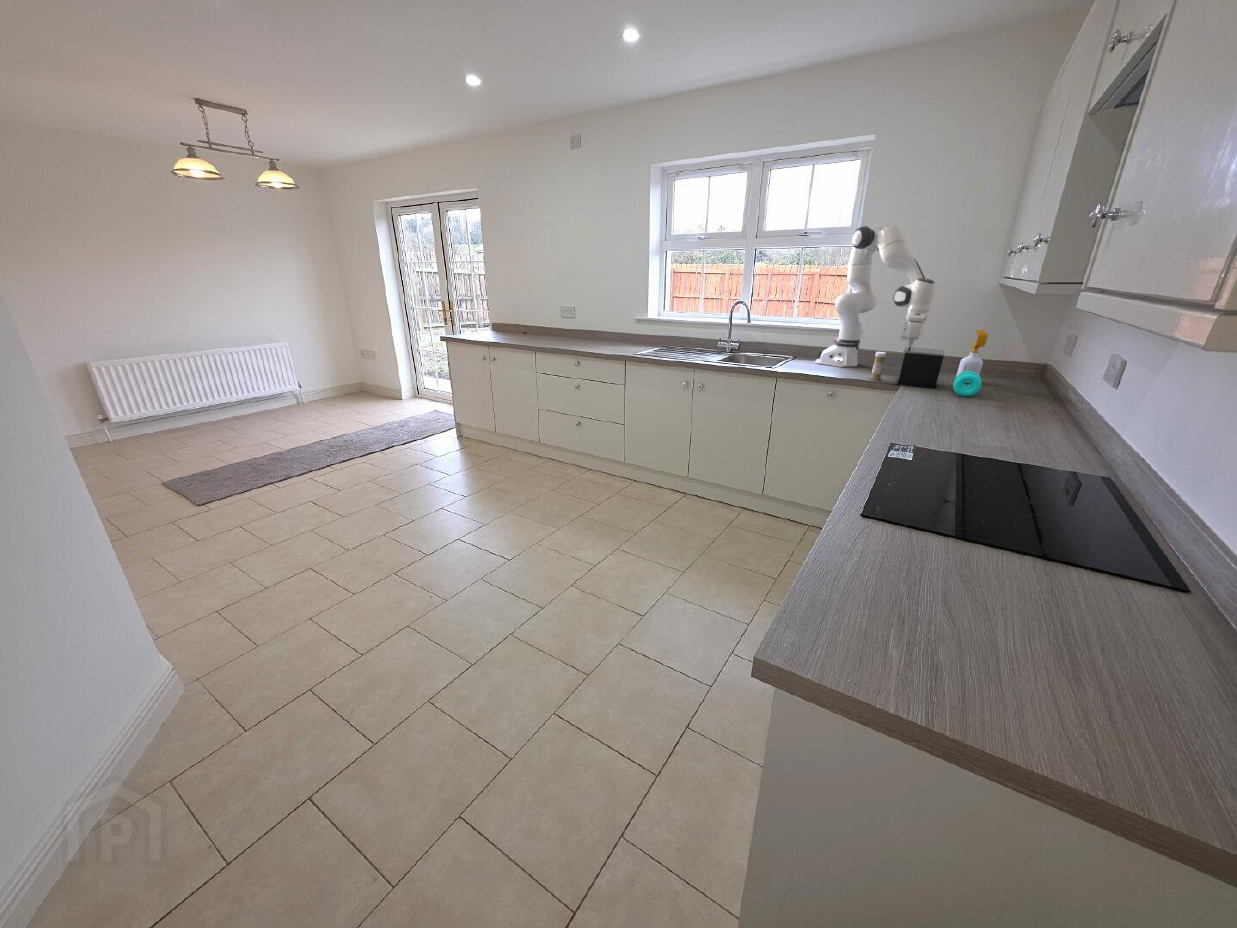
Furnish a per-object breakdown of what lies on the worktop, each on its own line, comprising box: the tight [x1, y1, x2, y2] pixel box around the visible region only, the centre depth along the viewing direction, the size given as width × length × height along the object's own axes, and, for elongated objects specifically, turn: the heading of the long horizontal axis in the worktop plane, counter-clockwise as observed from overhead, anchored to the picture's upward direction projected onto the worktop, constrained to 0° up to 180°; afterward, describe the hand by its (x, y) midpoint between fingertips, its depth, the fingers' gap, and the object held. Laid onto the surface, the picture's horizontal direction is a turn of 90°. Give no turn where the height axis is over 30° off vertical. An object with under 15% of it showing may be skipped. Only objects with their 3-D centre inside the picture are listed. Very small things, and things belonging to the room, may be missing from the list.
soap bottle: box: [955, 329, 989, 384], centre depth 235 cm, size 9×9×25 cm
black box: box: [897, 353, 945, 390], centre depth 232 cm, size 16×13×15 cm
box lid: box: [902, 346, 945, 357], centre depth 228 cm, size 16×13×5 cm
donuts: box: [952, 371, 982, 397], centre depth 215 cm, size 10×10×10 cm
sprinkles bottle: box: [870, 351, 887, 381], centre depth 241 cm, size 5×5×13 cm
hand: (910, 345), depth 231 cm, fingers open, 7 cm apart
